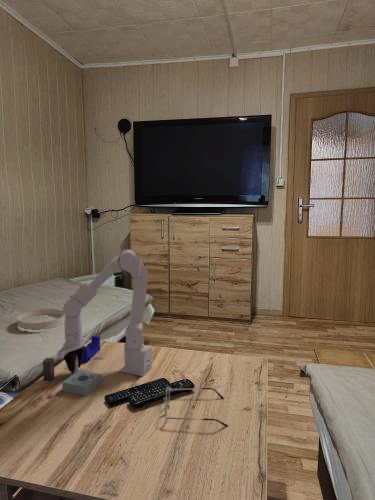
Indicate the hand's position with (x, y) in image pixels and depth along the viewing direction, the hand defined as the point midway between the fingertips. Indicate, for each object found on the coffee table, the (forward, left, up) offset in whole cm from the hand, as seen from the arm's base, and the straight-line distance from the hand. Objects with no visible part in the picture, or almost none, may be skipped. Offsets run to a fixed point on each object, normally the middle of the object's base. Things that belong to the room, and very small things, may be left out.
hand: (74, 368), depth 120 cm
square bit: (+6, +6, -2) cm, 9 cm away
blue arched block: (+4, -14, -2) cm, 15 cm away
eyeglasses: (-47, +5, -3) cm, 47 cm away
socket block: (-8, +6, -2) cm, 10 cm away
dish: (+47, -35, -2) cm, 59 cm away
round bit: (0, 0, -2) cm, 2 cm away
